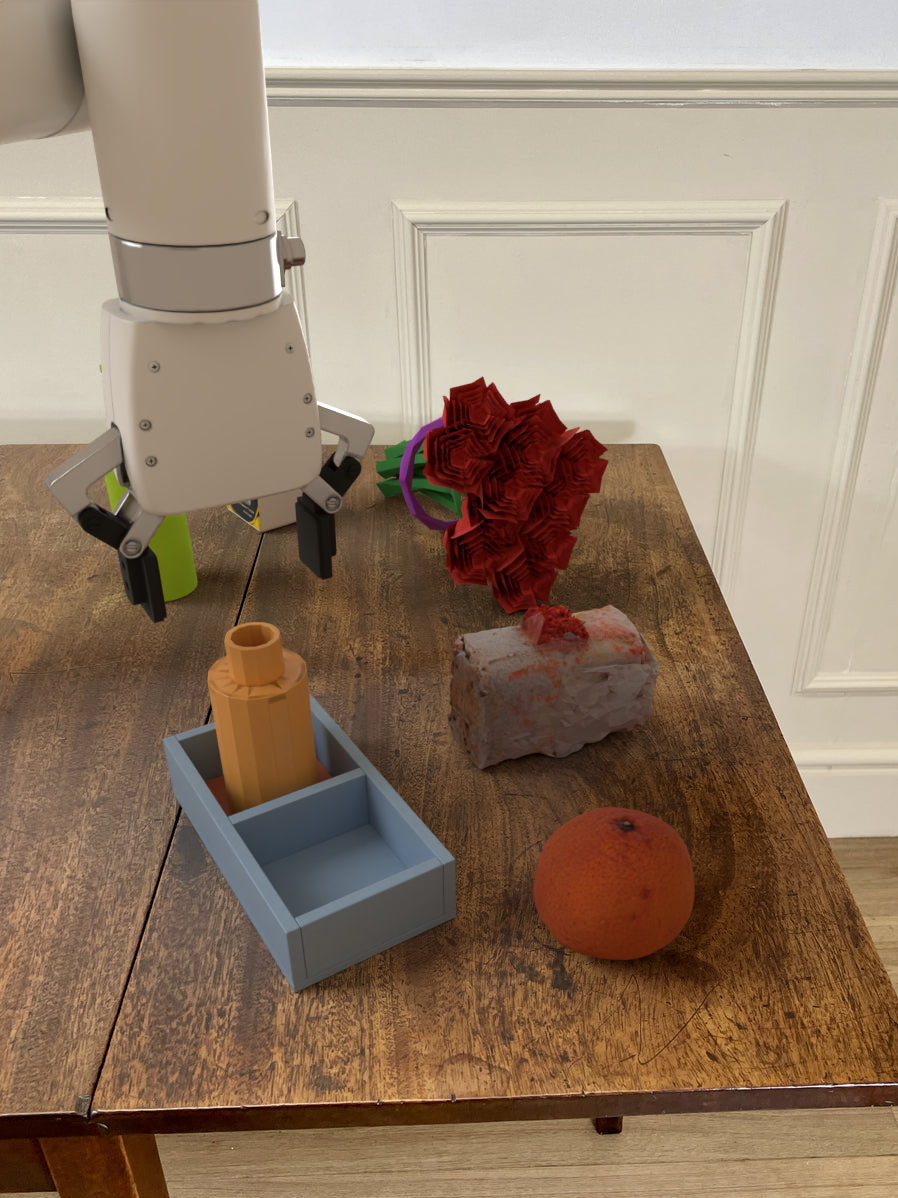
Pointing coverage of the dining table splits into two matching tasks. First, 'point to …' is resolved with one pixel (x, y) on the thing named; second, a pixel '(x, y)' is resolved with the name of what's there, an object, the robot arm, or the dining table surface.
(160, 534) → the soap dispenser
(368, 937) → the tray
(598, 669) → the food item
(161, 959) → the dining table surface
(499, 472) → the bouquet
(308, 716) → the bottle
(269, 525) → the medicine bottle
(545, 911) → the fruit
